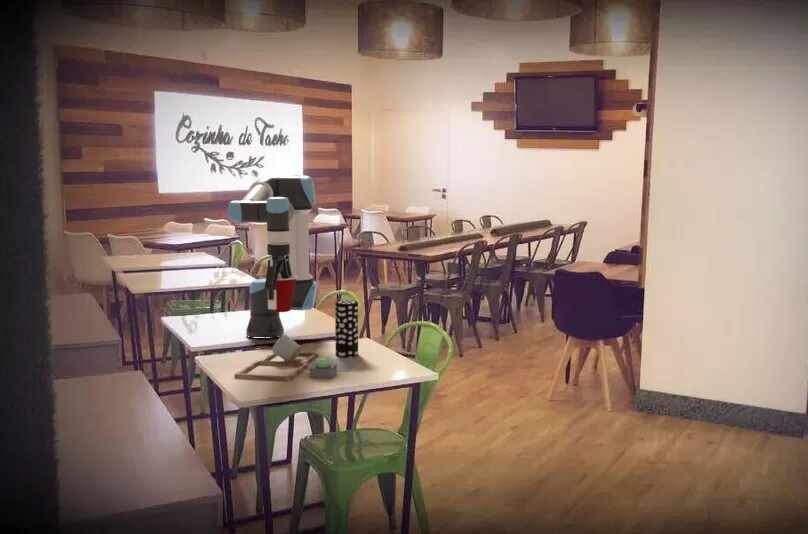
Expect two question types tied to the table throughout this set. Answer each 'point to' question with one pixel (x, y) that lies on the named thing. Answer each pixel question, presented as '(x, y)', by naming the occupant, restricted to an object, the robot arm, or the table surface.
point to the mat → (339, 364)
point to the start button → (323, 362)
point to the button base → (323, 372)
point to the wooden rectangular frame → (266, 361)
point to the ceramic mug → (286, 348)
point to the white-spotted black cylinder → (346, 328)
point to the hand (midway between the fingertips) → (279, 305)
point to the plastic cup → (284, 293)
